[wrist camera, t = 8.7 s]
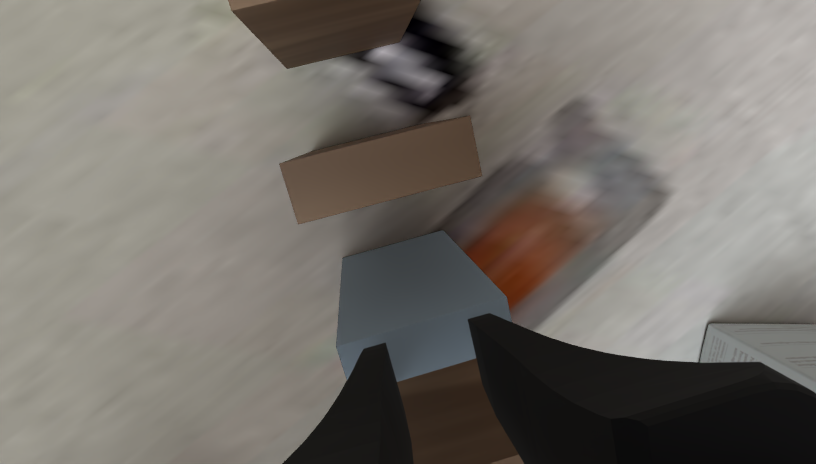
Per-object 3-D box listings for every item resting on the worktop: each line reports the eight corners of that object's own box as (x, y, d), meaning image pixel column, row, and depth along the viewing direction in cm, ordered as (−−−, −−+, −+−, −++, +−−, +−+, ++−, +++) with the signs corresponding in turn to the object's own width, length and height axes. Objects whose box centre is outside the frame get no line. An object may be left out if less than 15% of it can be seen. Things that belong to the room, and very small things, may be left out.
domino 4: (471, 354, 23) (545, 489, 14) (378, 381, 23) (395, 537, 14) (465, 327, 22) (537, 448, 14) (370, 354, 22) (383, 496, 13)
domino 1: (399, 42, 19) (439, -37, 10) (287, 69, 19) (231, 10, 10) (390, 3, 19) (424, -113, 10) (275, 29, 18) (207, -66, 10)
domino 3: (450, 260, 22) (516, 345, 13) (352, 288, 21) (352, 395, 13) (442, 230, 21) (506, 296, 12) (342, 258, 21) (336, 346, 12)
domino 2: (426, 158, 20) (482, 176, 12) (321, 186, 20) (297, 224, 11) (418, 124, 20) (470, 115, 11) (311, 151, 20) (279, 163, 11)
